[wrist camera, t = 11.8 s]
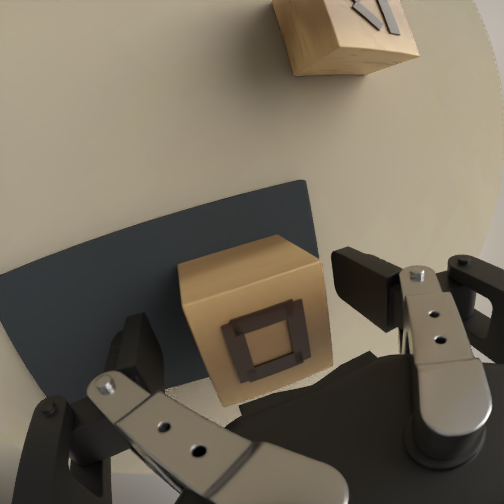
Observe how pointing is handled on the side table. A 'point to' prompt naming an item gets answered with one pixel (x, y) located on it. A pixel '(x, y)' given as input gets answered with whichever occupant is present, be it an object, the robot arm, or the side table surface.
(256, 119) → the side table surface
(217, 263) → the block
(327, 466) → the robot arm
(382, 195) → the side table surface
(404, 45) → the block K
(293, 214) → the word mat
